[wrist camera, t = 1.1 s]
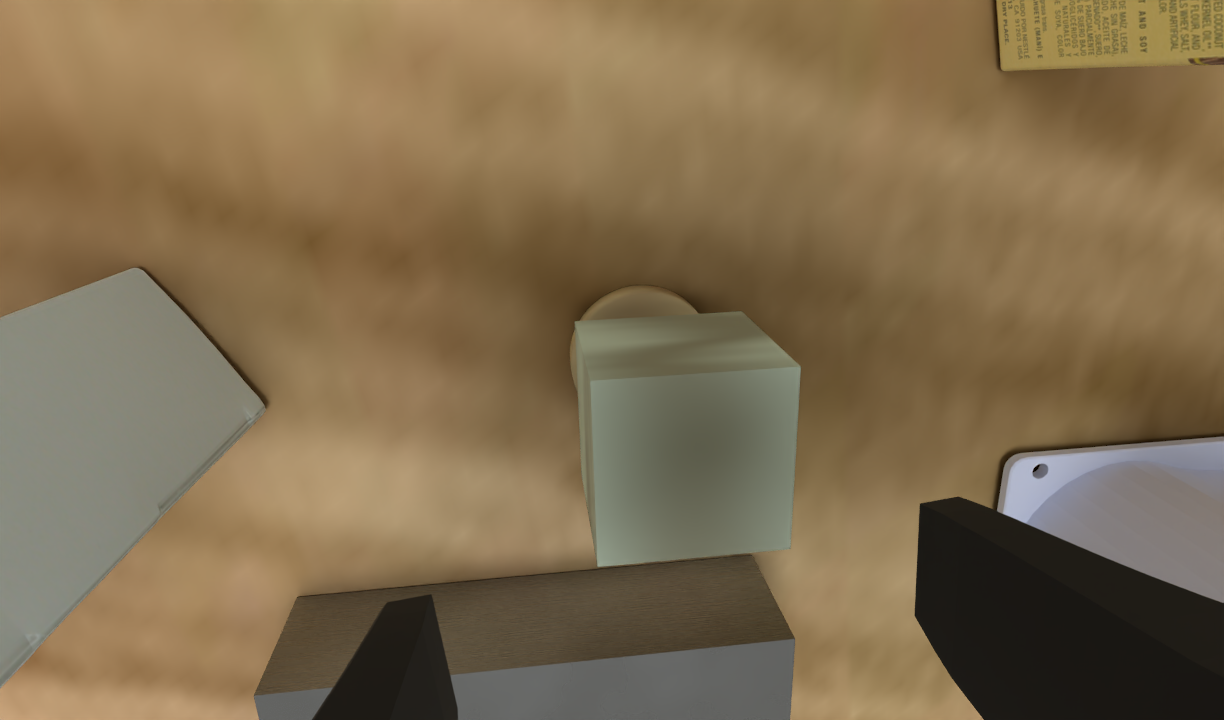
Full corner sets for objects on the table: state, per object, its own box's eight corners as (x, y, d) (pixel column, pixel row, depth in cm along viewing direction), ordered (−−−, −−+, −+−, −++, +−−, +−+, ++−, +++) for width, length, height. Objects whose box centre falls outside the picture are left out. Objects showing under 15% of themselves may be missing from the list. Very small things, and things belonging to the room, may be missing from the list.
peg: (709, 281, 21) (800, 366, 14) (707, 413, 22) (790, 549, 16) (566, 289, 21) (590, 380, 14) (572, 423, 22) (597, 566, 15)
